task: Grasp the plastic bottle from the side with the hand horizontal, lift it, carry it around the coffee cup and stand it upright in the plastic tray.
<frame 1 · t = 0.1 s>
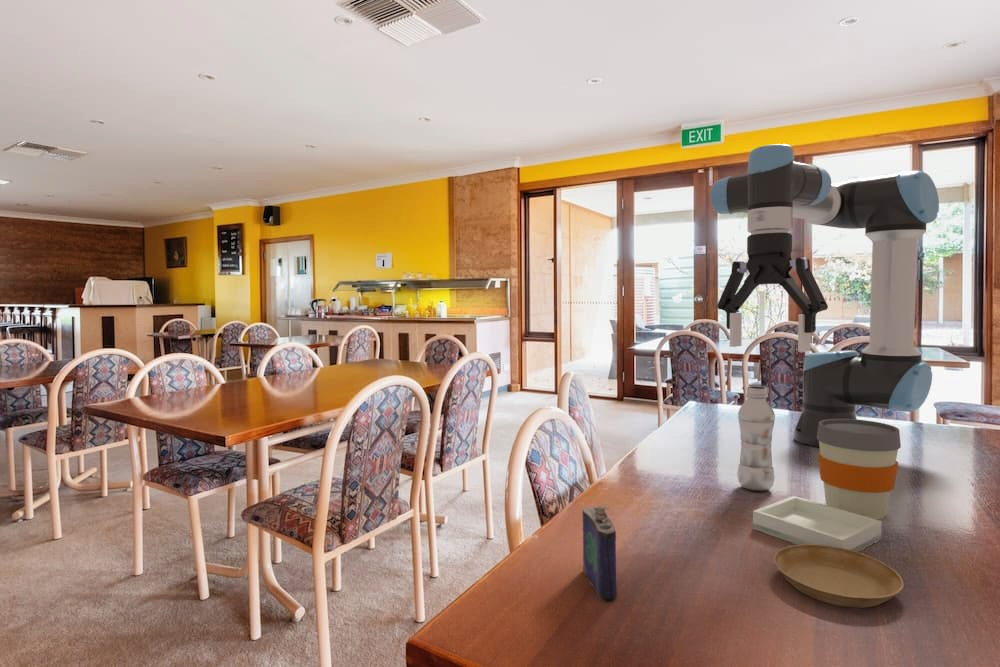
hand: (768, 348, 110), 28 cm above the table, tool pointing down, fingers open, 13 cm apart
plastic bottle: (755, 490, 115), on the table
plant saucer: (835, 588, 78), on the table
tray: (815, 534, 94), on the table
reusable coffee cup: (855, 511, 104), on the table
flask: (600, 586, 79), on the table
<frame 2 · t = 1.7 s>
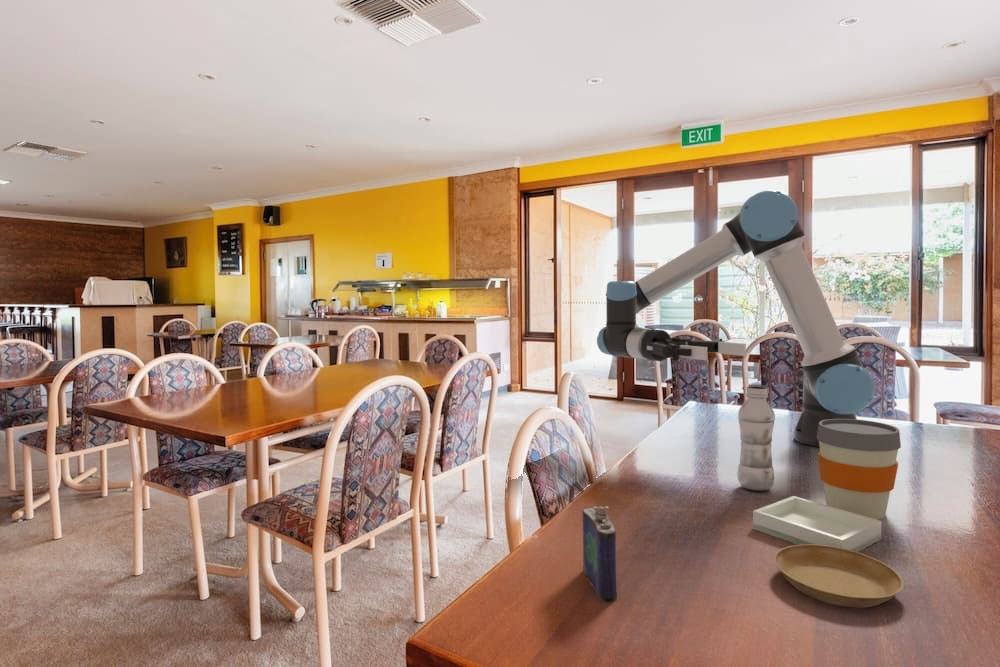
hand: (726, 351, 127), 26 cm above the table, tool horizontal, fingers open, 13 cm apart
nothing on the table moved.
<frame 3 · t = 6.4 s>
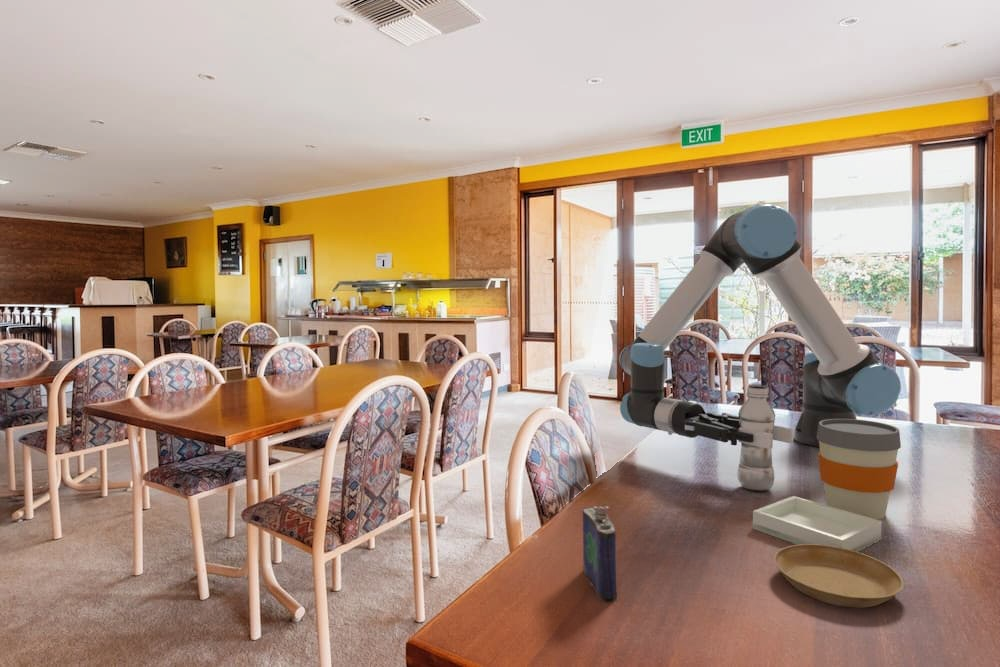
hand: (781, 438, 110), 11 cm above the table, tool horizontal, fingers closed on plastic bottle, 6 cm apart
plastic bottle: (755, 489, 115), on the table, touching gripper
everything else where it was.
when the fingers open (13 cm above the table, at t = 12.4 s): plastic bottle drops 1 cm, resting on tray.
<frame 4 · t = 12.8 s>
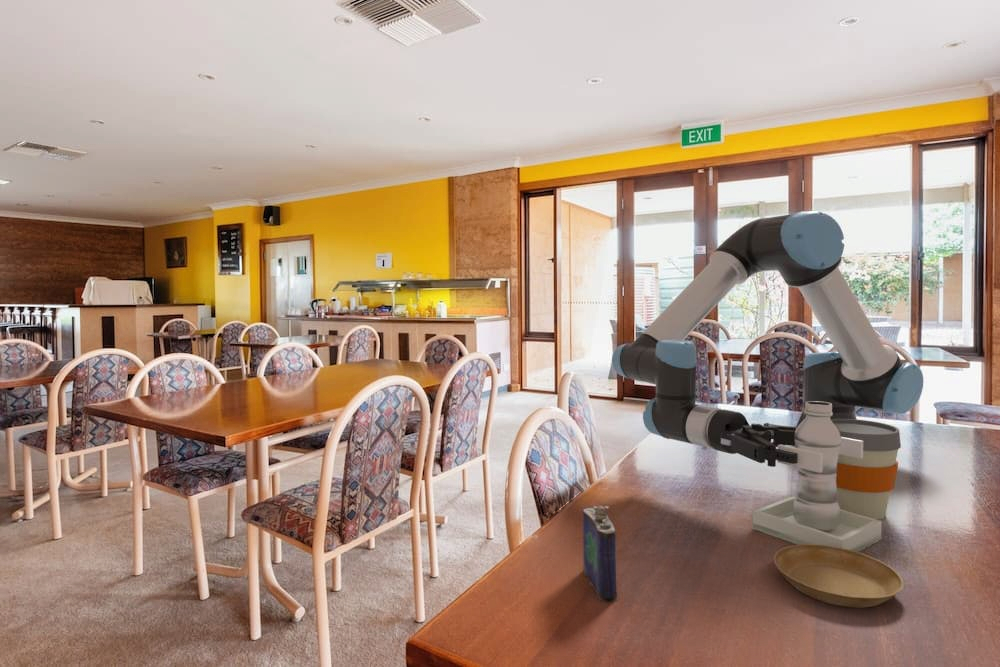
hand: (842, 456, 90), 13 cm above the table, tool horizontal, fingers open, 11 cm apart
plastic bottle: (815, 528, 94), point 1 cm above the table, touching tray
everything else where it was.
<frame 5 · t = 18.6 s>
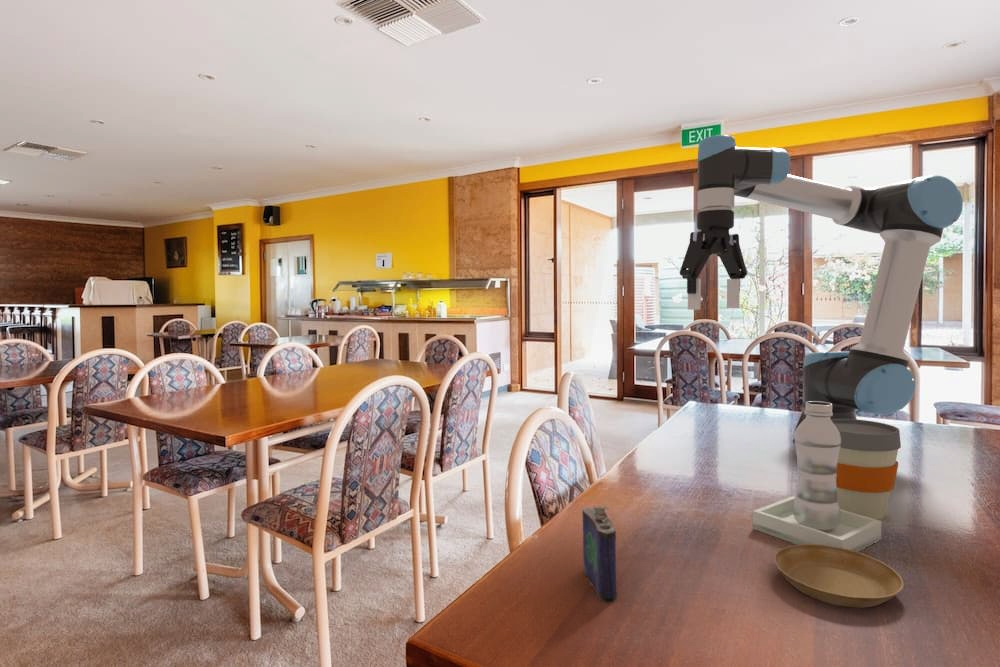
hand: (714, 309, 129), 35 cm above the table, tool pointing down, fingers open, 13 cm apart
nothing on the table moved.
at the end: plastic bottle inside the target area on the tray (0.2 cm from its centre), point 0.8 cm above the tray's base; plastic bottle tilted 0°; the gripper is holding nothing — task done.
